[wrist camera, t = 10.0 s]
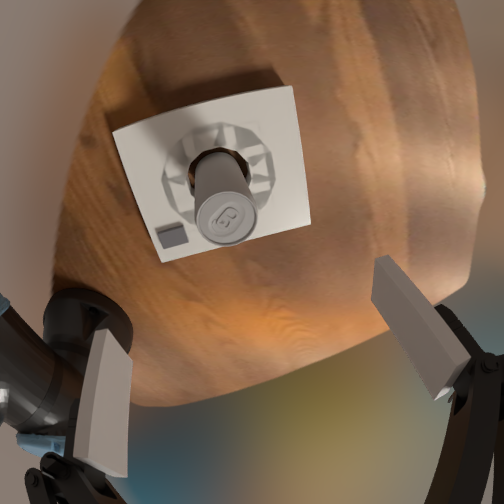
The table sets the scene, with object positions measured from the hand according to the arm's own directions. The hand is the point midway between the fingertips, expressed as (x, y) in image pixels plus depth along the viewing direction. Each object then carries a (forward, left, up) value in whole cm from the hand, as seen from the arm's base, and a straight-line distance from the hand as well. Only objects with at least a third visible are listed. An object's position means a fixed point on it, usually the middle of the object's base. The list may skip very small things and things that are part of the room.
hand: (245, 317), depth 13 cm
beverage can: (0, 0, -22) cm, 22 cm away
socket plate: (0, 0, -22) cm, 22 cm away
